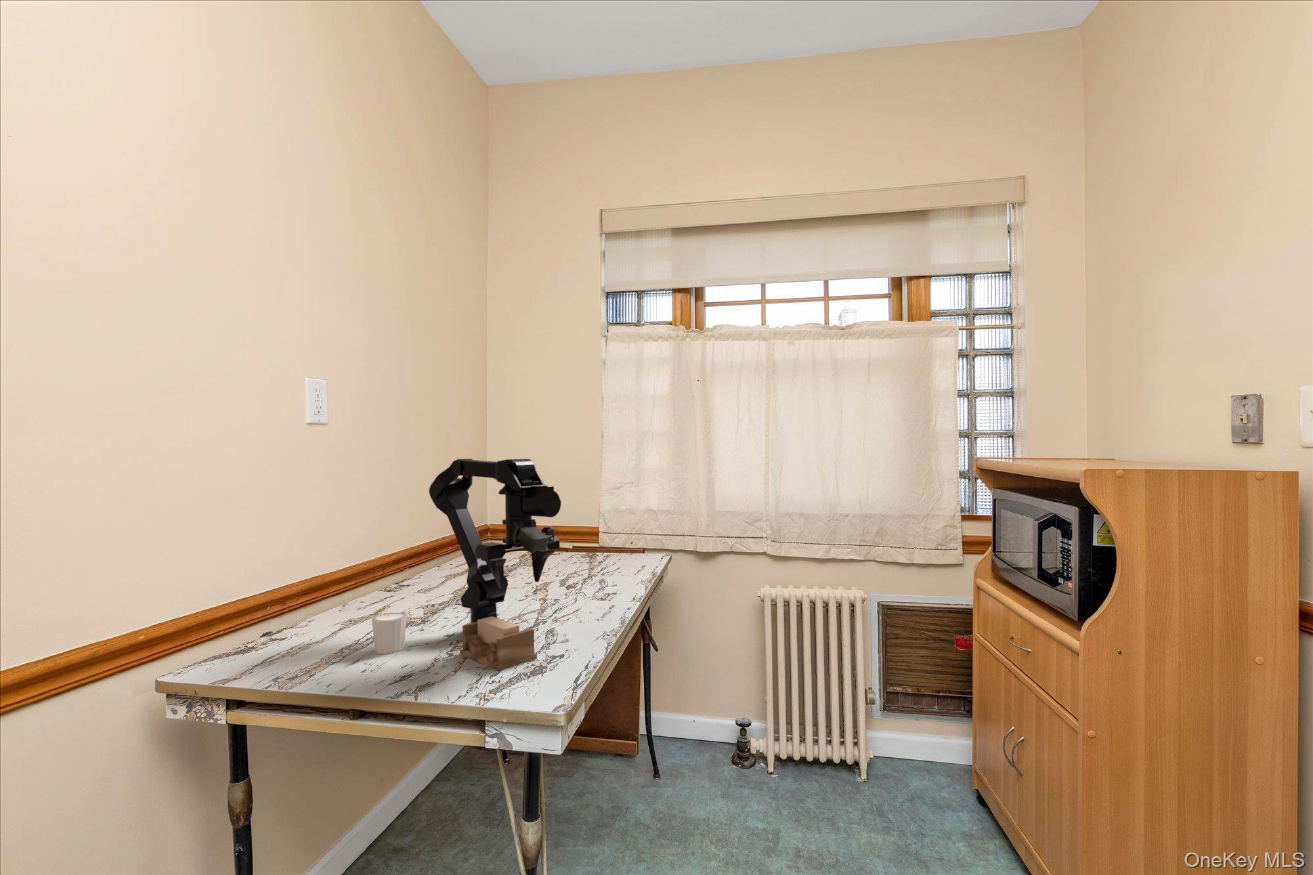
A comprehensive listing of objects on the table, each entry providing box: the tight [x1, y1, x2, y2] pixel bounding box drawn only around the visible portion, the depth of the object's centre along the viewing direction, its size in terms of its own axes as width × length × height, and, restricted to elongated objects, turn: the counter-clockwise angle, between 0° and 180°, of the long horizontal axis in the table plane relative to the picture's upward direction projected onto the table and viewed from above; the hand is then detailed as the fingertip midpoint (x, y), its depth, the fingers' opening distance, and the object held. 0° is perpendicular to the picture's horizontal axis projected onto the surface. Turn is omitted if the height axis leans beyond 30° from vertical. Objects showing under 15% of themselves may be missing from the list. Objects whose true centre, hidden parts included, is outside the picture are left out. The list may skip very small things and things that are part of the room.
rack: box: [459, 616, 538, 672], centre depth 123 cm, size 14×9×6 cm, turn 47°
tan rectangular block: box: [478, 616, 520, 644], centre depth 123 cm, size 10×4×4 cm, turn 47°
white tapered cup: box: [371, 612, 408, 655], centre depth 128 cm, size 7×7×7 cm
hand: (519, 585), depth 133 cm, fingers open, 9 cm apart
